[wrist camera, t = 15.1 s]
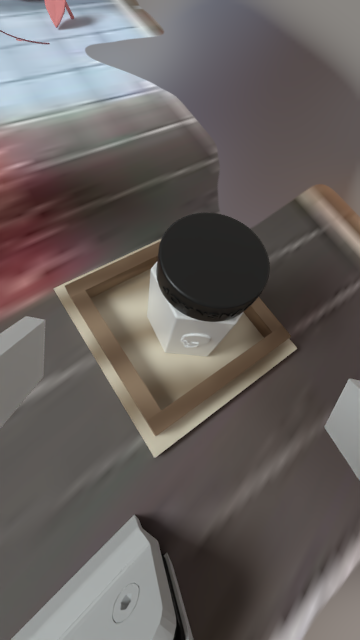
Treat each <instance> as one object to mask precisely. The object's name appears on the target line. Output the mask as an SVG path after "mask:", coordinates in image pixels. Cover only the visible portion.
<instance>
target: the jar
mask: <svg viewBox="0 0 360 640" xmlns="http://www.w3.org/2000/svg"><path fill="white" fill-rule="evenodd" d="M269 270H270V266H269V258H268V255H267V252H266V249H265V247H264V245H263V244H262V242H261V240H260V239H259V238H258V237H257V235H256V234H255V233H254V232H253V231H252V230H251V229H249V228H248V227H247V226H245V225H244V224H243V223H241V222H239V221H237V220H235V219H233V218H231V217H228V216H225V215H221V214H216V213H196V214H192V215H188V216H186V217H183V218H181V219H179V220H178V221H176V222H175V223H173V224H172V225H171V226H170V227H169V228H168V229H167V230H166V232H165V233H164V235H163V237H162V239H161V242H160V245H159V251H158V260H157V262H156V263H155V264H154V266H153V267H152V268H151V271H150V284H149V297H148V309H147V317H148V319H149V321H150V324H151V326H152V328H153V330H154V332H155V334H156V336H157V338H158V340H159V342H160V344H161V346H162V348H163V350H164V352H165V353H174V354H184V355H195V356H206V357H207V356H209V354H210V353H211V352H212V351H213V350H214V349H215V348H216V346H217V345H218V344H219V343H220V342H221V341H222V340H223V338H224V337H225V336H226V335H227V334H228V333H229V332H230V330H231V329H232V328H233V327H234V326H235V325H236V323H237V322H238V320H239V319H240V317H241V315H242V314H243V312H244V311H245V310H246V309H247V308H248V307H249V306H251V305H252V304H253V303H254V302H255V300H256V299H257V298H258V297H259V295H260V294H261V292H262V290H263V289H264V287H265V285H266V283H267V280H268V277H269Z"/></svg>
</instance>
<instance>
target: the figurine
mask: <svg viewBox="0 0 360 640" xmlns="http://www.w3.org/2000/svg"><path fill="white" fill-rule="evenodd" d="M45 5H46V8H47V11H48V13H49V15H50V17H51V19H52V21H53V23H54V25H55V27H56V28H57V27H58V25H59V24H60V22H61V19H62V17H63V15H64V12H65V7H66V9H67V11H68V13H69V15H70V17H71V19H74V16H73V14H72V12H71V10H70V8H69V6H68V4H67V2H66V0H45ZM0 31H1V30H0ZM1 32H3V31H1ZM3 33H5V32H3ZM5 34H7V33H5ZM7 35H9V34H7ZM9 36H12V35H9ZM12 37H14V36H12ZM15 38H17V37H15ZM18 39H21V38H17V39H16V40H18ZM22 40H25V39H21V40H19V41H22ZM25 41H28V42H34V41H29V40H25ZM34 43H41V42H34ZM41 44H49V43H41Z"/></svg>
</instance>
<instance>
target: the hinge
mask: <svg viewBox="0 0 360 640" xmlns="http://www.w3.org/2000/svg"><path fill="white" fill-rule="evenodd" d="M11 640H194V639H193V636H192V632H191V629H190V625H189V622H188V618H187V614H186V611H185V607H184V604H183V600H182V596H181V593H180V589H179V586H178V582H177V578H176V575H175V571H174V568H173V565H172V562H171V560H170V558H169V556H168V553H166V554H165V555H164V556H163V554H162V555H161V552H160V547H159V543H158V541H157V540H156V539H155V538H154V537H153V536H151V535H150V534H149V533H148V532H146V531H145V530H144V529H143V528H142V526H141V524H140V521H139V519H138V518H137V517H136V516H135V515H134V516H133V517H132V518H131V519H130V520H129V521H128V522H127V523H126V524H125V525H124V526H123V527H122V528H121V529H120V530H119V531H118V532H117V533H116V534H115V535H114V536H113V537H112V538H111V539H110V540H109V541H108V542H107V543H106V544H105V545H104V546H103V547H102V548H101V549H100V550H99V551H98V552H97V553H96V554H95V555H94V556H93V557H92V558H91V559H90V560H89V561H88V562H87V563H86V564H85V565H84V566H83V567H82V568H81V569H80V570H79V571H78V572H77V573H76V574H75V575H74V576H73V577H72V578H71V579H70V580H69V581H68V582H67V583H66V584H65V585H64V586H63V587H62V588H61V589H60V590H59V591H58V592H57V593H56V594H55V595H54V596H53V597H52V598H51V599H50V600H49V601H48V602H47V603H46V604H45V605H44V606H43V607H42V609H41V610H40V611H39V612H38V613H37V614H36V615H35V616H34V617H33V618H32V619H31V620H30V621H29V622H28V623H27V624H26V625H25V626H24V627H23V628H22V629H21V630H20V631H19V632H18V633H17V634H16V635H15V636H14V637H13V638H12V639H11Z"/></svg>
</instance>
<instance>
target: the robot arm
mask: <svg viewBox="0 0 360 640" xmlns="http://www.w3.org/2000/svg"><path fill="white" fill-rule="evenodd" d="M44 344H45V320H43V319H38V318H33V317H28V316H26V317H24V318H23V319H21V320H20V321H18V322H17V323H15V324H14V325H12V326H11V327H9V328H8V329H6V330H5V331H3V332H2V333H0V428H1V427H2V426H3V425H4V423H5V422H6V421H7V420H8V419H9V417H10V416H11V415H12V414H13V413H14V411H15V410H16V409H17V408H18V407H19V405H20V404H21V403H22V402H23V401H24V399H25V398H26V397H27V396H28V395H29V394H30V392H31V391H32V390H33V389H34V388H35V386H36V385H37V384H38V383H39V382H40V380H41V379H42V378H43V371H44ZM324 428H325V429H326V431H327V432H328V434H329V435H330V437H331V438H332V440H333V441H334V443H335V444H336V446H337V447H338V449H339V450H340V452H341V453H342V455H343V456H344V458H345V459H346V461H347V462H348V464H349V465H350V467H351V468H352V470H353V471H354V473H355V474H356V476H357V477H358V479H359V480H360V381H359V380H354V379H349V380H348V382H347V383H346V385H345V387H344V389H343V391H342V393H341V395H340V397H339V399H338V401H337V403H336V405H335V407H334V409H333V411H332V413H331V415H330V417H329V419H328V421H327V423H326V425H325V426H324Z"/></svg>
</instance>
